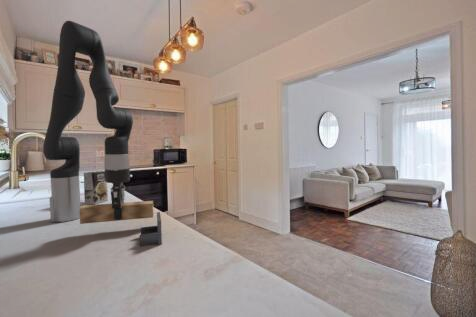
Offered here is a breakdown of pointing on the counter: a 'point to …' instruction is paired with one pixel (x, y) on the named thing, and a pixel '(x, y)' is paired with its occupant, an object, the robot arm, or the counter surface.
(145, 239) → the cup bracket
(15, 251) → the counter surface
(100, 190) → the coffee box
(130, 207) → the rail
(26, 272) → the counter surface
